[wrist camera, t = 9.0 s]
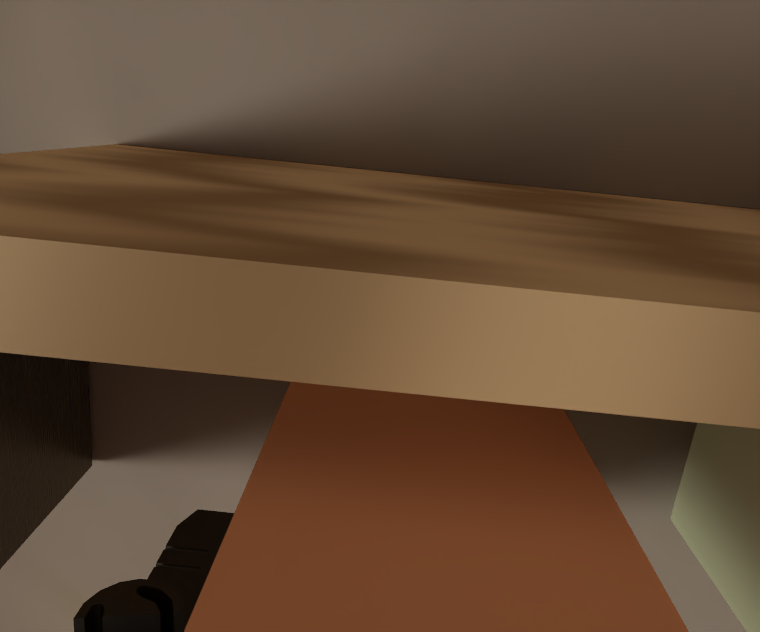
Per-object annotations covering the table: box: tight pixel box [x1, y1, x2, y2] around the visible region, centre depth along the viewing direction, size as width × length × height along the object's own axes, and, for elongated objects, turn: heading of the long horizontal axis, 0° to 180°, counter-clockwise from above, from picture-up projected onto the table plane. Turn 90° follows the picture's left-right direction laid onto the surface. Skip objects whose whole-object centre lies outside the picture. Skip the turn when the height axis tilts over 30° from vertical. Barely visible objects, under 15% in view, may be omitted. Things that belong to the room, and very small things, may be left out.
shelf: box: [0, 144, 760, 429], centre depth 13 cm, size 25×11×12 cm, turn 84°
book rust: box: [184, 382, 688, 632], centre depth 10 cm, size 4×8×10 cm, turn 174°
